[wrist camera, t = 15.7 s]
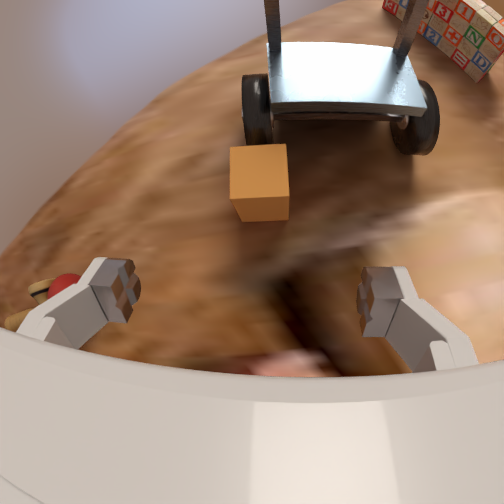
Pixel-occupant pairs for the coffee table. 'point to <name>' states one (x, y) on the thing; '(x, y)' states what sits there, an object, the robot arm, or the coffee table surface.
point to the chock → (259, 182)
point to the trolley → (342, 85)
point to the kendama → (41, 296)
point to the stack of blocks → (460, 31)
